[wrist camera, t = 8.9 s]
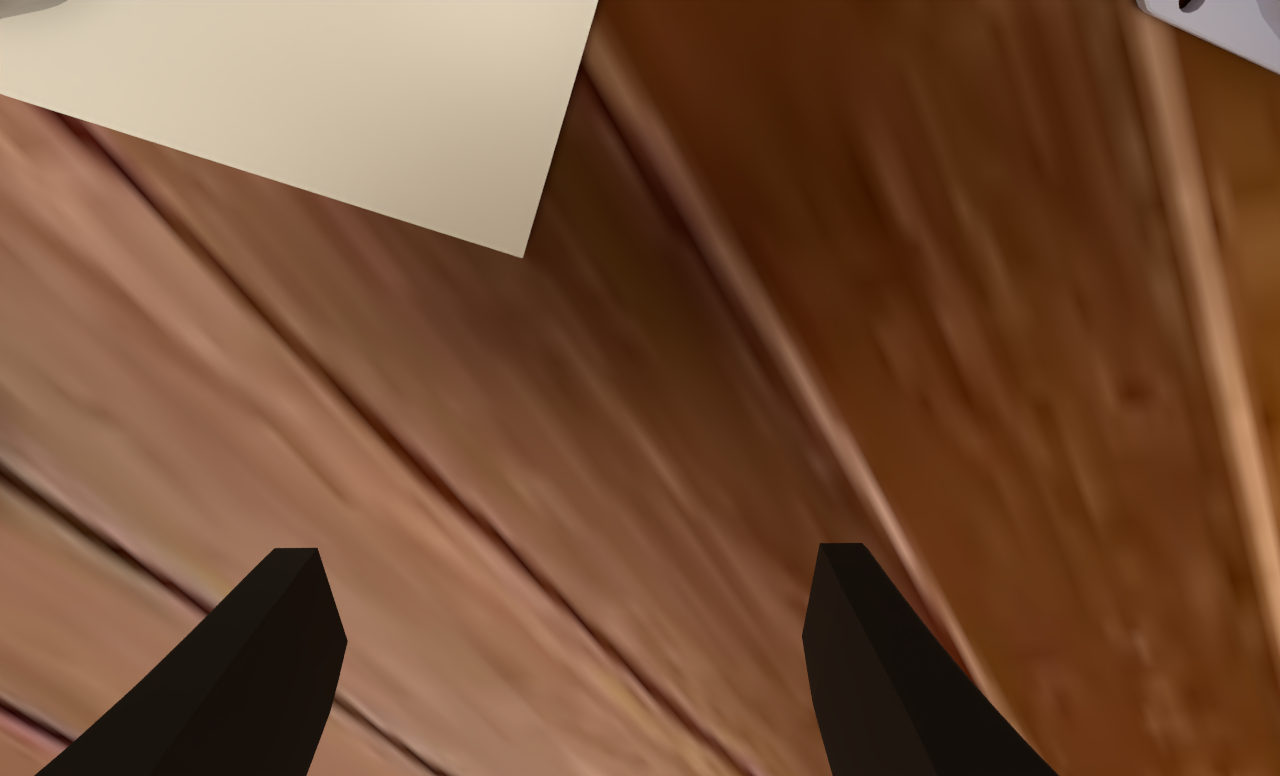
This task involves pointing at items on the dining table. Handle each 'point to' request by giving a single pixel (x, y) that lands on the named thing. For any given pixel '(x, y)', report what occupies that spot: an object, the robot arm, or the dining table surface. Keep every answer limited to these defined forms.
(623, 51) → the dining table surface
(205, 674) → the robot arm
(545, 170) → the stub board
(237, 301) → the dining table surface
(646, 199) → the dining table surface
